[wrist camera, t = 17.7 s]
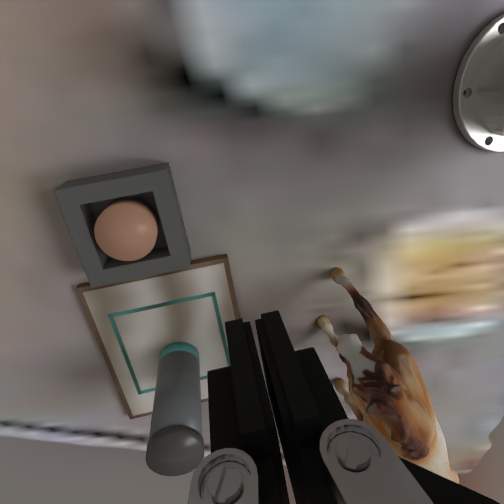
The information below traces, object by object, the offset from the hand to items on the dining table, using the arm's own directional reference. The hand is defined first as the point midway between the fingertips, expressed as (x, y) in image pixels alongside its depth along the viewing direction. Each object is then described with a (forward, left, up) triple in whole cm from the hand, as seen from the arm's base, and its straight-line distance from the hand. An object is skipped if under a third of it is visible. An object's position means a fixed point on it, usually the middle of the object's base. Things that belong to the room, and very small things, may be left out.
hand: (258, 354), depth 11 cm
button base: (+8, +2, -25) cm, 26 cm away
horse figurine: (-9, +24, -25) cm, 36 cm away
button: (+8, +2, -23) cm, 25 cm away
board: (+8, +17, -25) cm, 31 cm away
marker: (+8, +18, -24) cm, 31 cm away
